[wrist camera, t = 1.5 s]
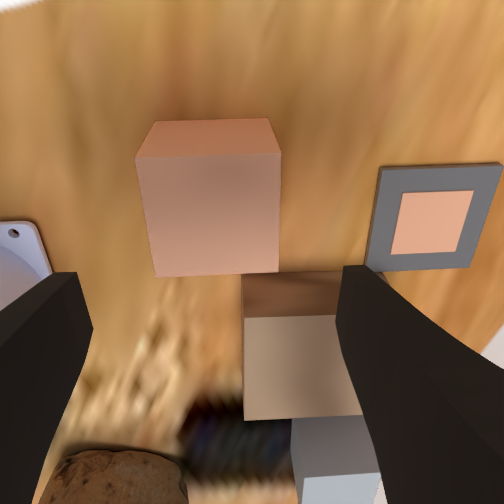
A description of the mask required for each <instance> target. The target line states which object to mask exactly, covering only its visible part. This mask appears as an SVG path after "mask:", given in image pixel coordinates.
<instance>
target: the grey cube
mask: <svg viewBox="0 0 504 504" xmlns="http://www.w3.org/2000/svg"><path fill="white" fill-rule="evenodd" d="M290 451H291V457H292V464H293V471H294V477H295V484H296V491H297V497H298V504H373V502H374V499H375V496H376V492H377V489H378V486H379V482H380V479H381V474H380V470H379V466H378V462H377V458H376V454H375V450H374V446H373V443H372V440H371V437H370V434H369V431H368V428H367V425H366V423H365V420H364V417H363V415H347V416H327V417H306V418H292V430H291V445H290Z"/></svg>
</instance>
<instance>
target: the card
mask: <svg viewBox="0 0 504 504" xmlns="http://www.w3.org/2000/svg"><path fill="white" fill-rule="evenodd" d="M503 167H504V166H503V165H502V164H500V163H487V164H459V165H431V166H403V167H380V169H379V175H378V181H377V187H376V193H375V199H374V206H373V212H372V218H371V224H370V230H369V236H368V242H367V248H366V254H365V260H364V265H366V266H367V267H369V268H370V269H371V270H372V271H373V272H387V271H408V270H429V269H450V268H469V267H470V264H471V261H472V258H473V255H474V253H475V250H476V247H477V244H478V241H479V238H480V235H481V232H482V229H483V226H484V223H485V220H486V217H487V214H488V211H489V209H490V206H491V203H492V200H493V197H494V194H495V191H496V188H497V185H498V182H499V179H500V176H501V173H502V170H503Z"/></svg>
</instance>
